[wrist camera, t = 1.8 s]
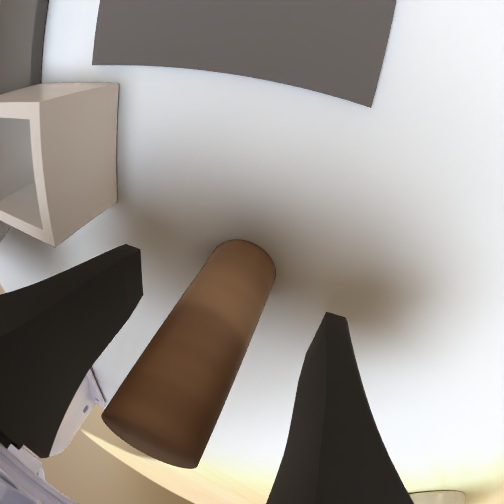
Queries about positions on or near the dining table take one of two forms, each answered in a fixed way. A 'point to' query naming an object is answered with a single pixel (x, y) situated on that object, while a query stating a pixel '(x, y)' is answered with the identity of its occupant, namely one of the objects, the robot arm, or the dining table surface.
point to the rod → (194, 358)
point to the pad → (254, 40)
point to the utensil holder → (438, 497)
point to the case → (50, 136)
